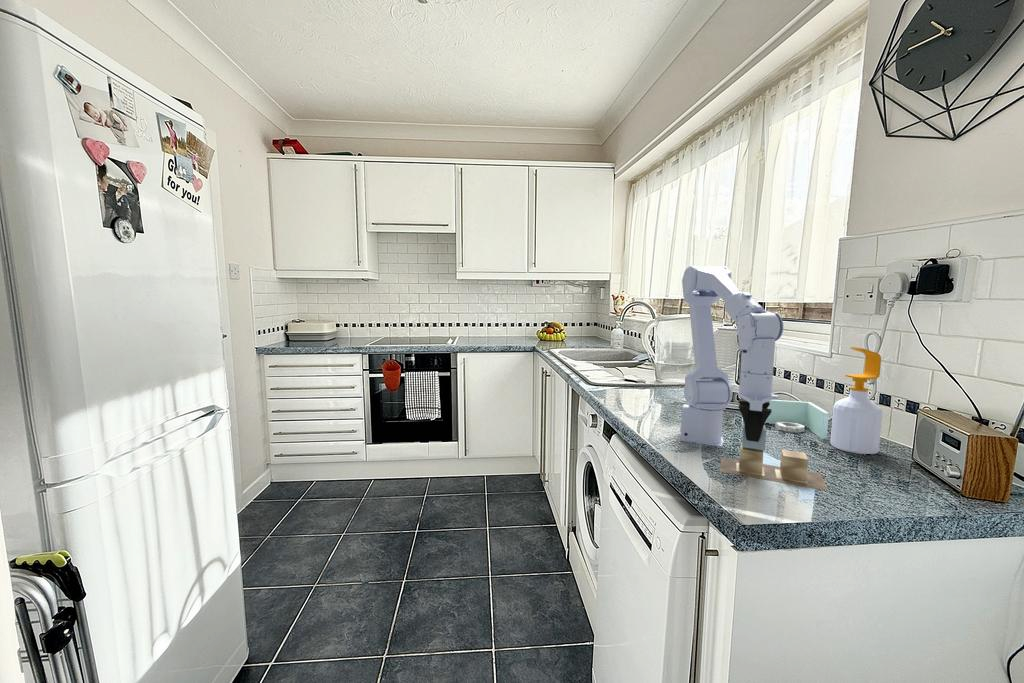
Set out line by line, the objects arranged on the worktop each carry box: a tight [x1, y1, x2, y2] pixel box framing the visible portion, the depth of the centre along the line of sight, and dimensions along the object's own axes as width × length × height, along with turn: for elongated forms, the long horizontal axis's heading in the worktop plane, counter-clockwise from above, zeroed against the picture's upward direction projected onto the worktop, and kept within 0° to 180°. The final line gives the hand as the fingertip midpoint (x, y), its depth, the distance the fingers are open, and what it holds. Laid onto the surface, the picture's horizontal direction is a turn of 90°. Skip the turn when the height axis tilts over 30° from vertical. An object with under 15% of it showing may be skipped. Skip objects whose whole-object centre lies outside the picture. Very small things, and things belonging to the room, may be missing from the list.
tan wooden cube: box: [779, 449, 809, 482], centre depth 84 cm, size 4×4×4 cm
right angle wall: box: [765, 399, 830, 440], centre depth 116 cm, size 12×12×8 cm
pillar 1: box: [738, 443, 764, 474], centre depth 87 cm, size 4×4×4 cm
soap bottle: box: [830, 346, 883, 456], centre depth 101 cm, size 9×9×25 cm
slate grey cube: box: [741, 422, 767, 451], centre depth 86 cm, size 4×4×4 cm
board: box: [719, 457, 829, 492], centre depth 86 cm, size 18×9×1 cm, turn 62°
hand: (752, 437), depth 87 cm, fingers closed on slate grey cube, 4 cm apart
